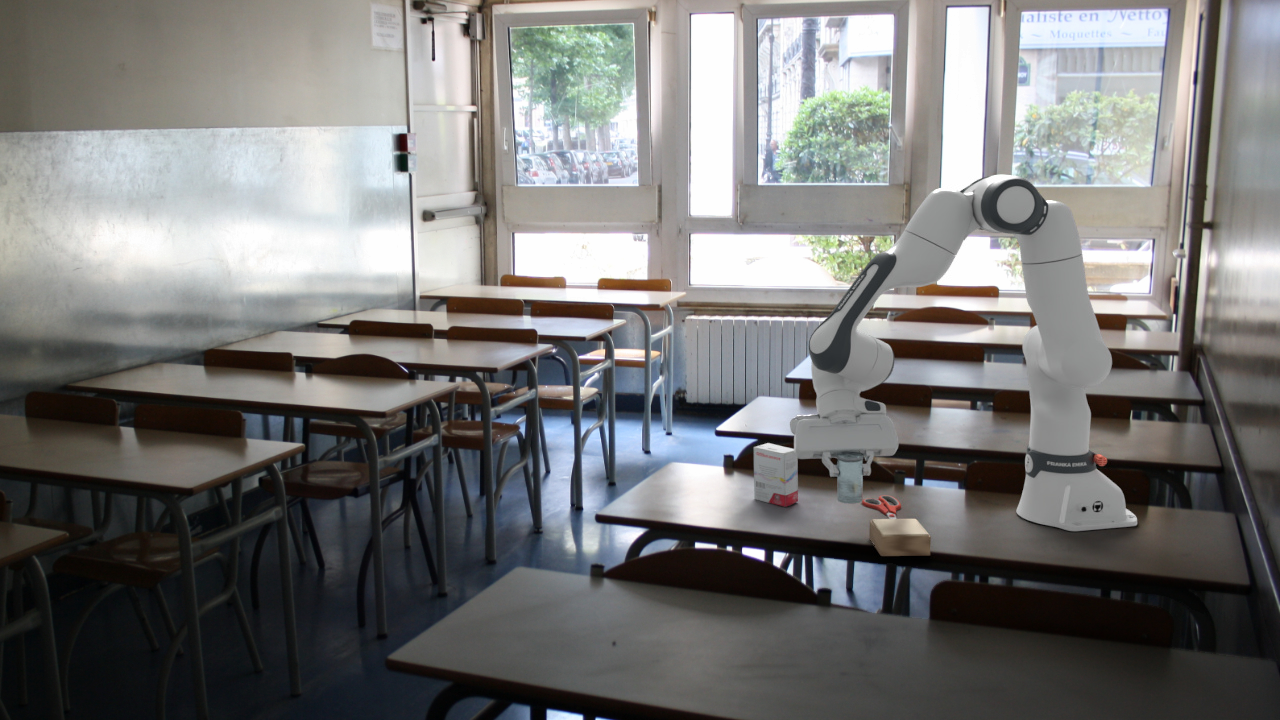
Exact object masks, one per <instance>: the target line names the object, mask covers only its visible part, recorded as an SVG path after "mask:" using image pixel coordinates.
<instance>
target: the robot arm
mask: <svg viewBox="0 0 1280 720" xmlns="http://www.w3.org/2000/svg"><path fill="white" fill-rule="evenodd" d="M976 230H979V231H980V230H981V231H986V232H988V233H993V234H1002V233H1003V234H1010V235H1011V234H1012V235H1013V236H1014V237H1015V239H1016V241H1017V243H1018V246H1019V251H1020V254H1019V255H1020V260H1021V268H1022V276H1023V281H1024V287H1025V294H1026V295H1025V296H1026V301H1027V304H1028V306H1029V308H1030V310H1031V312H1032V315H1033V317H1034V320H1035V323H1036V325H1034V326H1033V327H1032V328H1030V329H1029V330H1028V331H1027V332H1026V333H1025V335H1024V338H1023V341H1022V353H1023V355H1024V359H1025V364H1026V365H1025V366H1026V374H1027V383H1028V389H1029V390H1028V391H1029V399H1030V421H1029V422H1030V426H1029V441H1028V442H1029V443H1028V445H1027V446H1026V452H1025V458H1024V467H1025V479H1024V484H1023V490H1022V493H1021V497H1020V500H1019V503H1018V505H1017V508H1016V514H1017V515H1018V516H1019V517H1021V518H1022V519H1025V520H1027V521H1030V522H1032V523H1035V524H1040V525H1045V526H1049V527H1055V528H1059V529H1062V530H1065V531H1069V532H1082V531H1093V530H1105V529H1116V528H1127V527H1136V526H1137V525H1138V518H1137V516H1136V514H1134V513H1133V512H1132V511H1130V509H1127V508H1126V499H1125V495H1124V493H1123V490H1122V489H1121V488H1120V487H1119V486H1118V485H1117V484H1116V483H1115V482H1113V480H1111V479H1110V478H1109V477H1107V475H1105V474H1104V473H1103V472H1102V471H1100V470H1098V469H1097V466H1096V465H1098V466H1099V467H1104V466H1106V465H1107V463H1108V459H1107V457H1106V456H1104V455H1102V454H1100V453H1096V452H1093V451H1092V450H1091V449H1089V446H1090V433H1091V429H1090V428H1091V421H1092V420H1091V419H1092V412H1091V409H1090V406H1089V404H1088V399H1087V395H1086V390H1085V388H1086V389H1088V388H1092V387H1096V386H1098V385H1100V384H1102V383H1103V382H1104V380H1105V379H1107V377H1108V376H1109V374H1110V372H1111V369H1112V365H1113V358H1112V353H1111V351H1110V350H1109V348H1108V347H1107V345H1106V343H1105V340H1104V338H1103V336H1102V333H1101V329H1100V326H1099V323H1098V320H1097V317H1096V314H1095V311H1094V308H1093V305H1092V302H1091V299H1090V295H1089V290H1088V286H1087V285H1088V284H1087V279H1086V272H1085V271H1086V270H1085V264H1084V257H1083V251H1082V245H1081V239H1080V235H1079V231H1078V227H1077V224H1076V220H1075V217H1074V215H1073V213H1072V210H1071V208H1070V207H1069V206H1068V205H1067V204H1065V203H1064V202H1061V201H1058V200H1051V199H1050V200H1046V199H1045V198H1044V197H1043V196H1042V194H1041V193H1040V192H1039V190H1038V189H1037V188H1036V186H1035V185H1033V183H1032V182H1031V181H1030V180H1028V179H1026V178H1024V177H1021V176H1019V175H1010V174H994V175H990V176H984V177H981V178H978V179H976V180H975V181H974V182H972V183H970V184H969V185H968V186H966V187H965V188H963V189H961V190H957V189H954V188H952V187H951V188H950V187H949V188H948V187H939V188H936V189H934V190H932V191H931V192H930V193H929V194H928V195H927V196H926V197H925V199H924V200H923V201H922V203H921V204H920V205H919V206H918V208H917V209H916V211H915V213H914V214H913V215H912V217H911V218H910V220H909V222H908V223H907V225H906V227H905V229H904V230H903V232H902V234H901V235H900V236H899V238H897V241H895V242H894V244H892V246H890V248H888V249H886V251H882V252H878V254H876V255H875V256H874V257H873V258H871V260H870V261H869V262H868V263H866V266H865V267H864V268H863V269H862V271H861V272H860V273H859V274H858V276H857V278H856V279H855V280H854V281H853V282H852V284H851V286H850V287H849V288H848V289H847V291H846V292H845V294H844V295H843V297H842V298H840V301H838V303H837V304H836V306H835V307H834V308H833V310H832V311H831V313H830V314H829V315H828V316H827V317H826V318H825V319H824V320H823V321H822V322H821V323H820V324H819V325H818V326H817V327H816V328H815V329H814V330H813V333H811V335H810V337H809V341H808V354H809V357H810V359H811V366H810V367H811V378H812V385H813V389H814V392H815V393H816V399H815V404H816V410H817V413H816V414H815V413H814V414H797V415H796V416H794V417H793V418H791V419H790V422H789V427H790V432H791V434H793V435H794V437H793V449H794V453H795V455H796V456H797V457H798V460H808V459H809V460H810V459H813V460H814V459H821V462H822V464H823V465H824V466H825V468H827V469H828V471H829V476H830V478H832V477H833V478H834V477H837V476H838V475H839V470H838V465H837V464H834V463H833V462H832V461H831V459H832V458H835V459H837V454H838V453H840V452H858V453H861V454H863V458H864V461H866V463H863V476H871V473H872V468H871V464H872V462H873V459H874V457H891V456H894V455H895V454H896V452H897V450H898V449H899V446H900V445H899V444H900V443H899V438H898V434H897V431H896V428H895V424H894V423H893V421H892V419H891V418H890V417H889V416H888V415H886V414H887V406H886V404H885V403H883V402H880V401H875V400H871V399H868V398H867V399H866V398H864V397H861V395H860V394H861V392H866V391H869V390H871V389H874V388H876V387H877V386H879V385H882V384H883V383H884V382H886V381H887V380H888V379H889V378H890V376H891V375H892V372H893V371H894V368H895V354H894V350H893V348H892V346H891V345H890V344H889V343H886V342H885V341H883V340H881V339H878V338H877V337H874V336H873V335H870V334H866V333H865V332H863V331H860V330H858V326H859V325H860V324H861V322H862V320H863V319H864V318H865V317H866V315H867V314H868V313H869V311H870V310H871V308H873V306H874V304H875V303H876V302H877V300H878V299H879V297H881V296H882V295H883V294H884V293H886V292H888V291H891V290H893V289H897V288H921V287H927V286H930V285H932V284H934V283H936V282H938V281H940V280H941V279H942V278H943V277H944V275H946V274H947V272H948V271H949V269H950V267H951V266H952V263H953V262H954V260H955V258H956V256H957V254H958V253H959V251H960V249H961V247H962V245H963V243H964V241H965V240H967V238H968V237H969V235H970V234H972V233H973V232H974V231H976Z"/></svg>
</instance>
